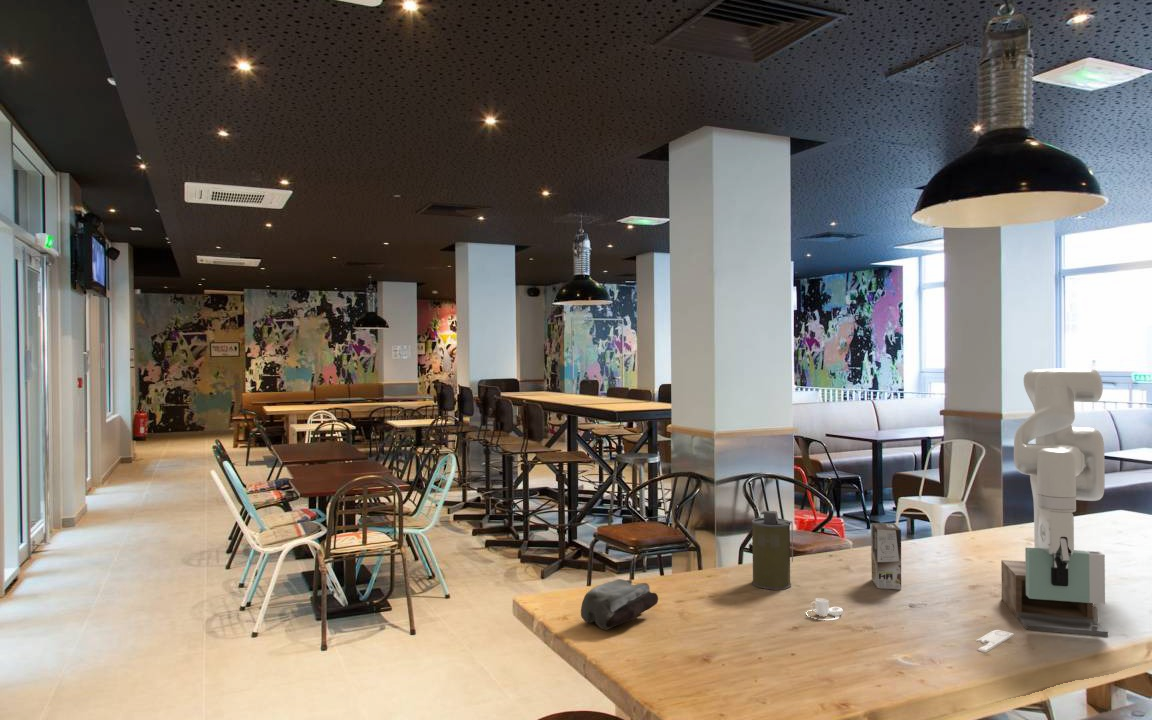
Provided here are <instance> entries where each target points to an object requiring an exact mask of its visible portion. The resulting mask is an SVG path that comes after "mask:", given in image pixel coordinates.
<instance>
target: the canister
mask: <svg viewBox="0 0 1152 720" xmlns="http://www.w3.org/2000/svg"><path fill="white" fill-rule="evenodd" d="M760 515H763V517H759V518H757V517H756V518H753V519H752V520H751V525H752V526H751V527H752V535H751V536H752V581H751V582H752V583H751V584H752V585H753V586H754V585H755V586H754V587H756V586H757V588H758V587H761V588H760V589H762V588H764V590H768V589H771V590H770V591H782V590H781V589H783V590H786V589H788V588H790V587H792V583H791V563H793V562H794V561H793V560H794V547H793V546H794V541H793V540H794V539H793V538H794V537H793V536H794V535H793V532H794V531H793V529H794V528H793V521H792V520H787V519H784V518H779V516H778V515H779V514H778V512H777V511H776V510H763V511H762V512H761V513H760ZM790 526H791V527H790ZM790 530H791V531H790Z"/></svg>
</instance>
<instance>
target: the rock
mask: <svg viewBox="0 0 1152 720" xmlns="http://www.w3.org/2000/svg"><path fill="white" fill-rule="evenodd" d="M632 583H633V581H632V580H631V579H627V580H626V579H622V578H619V579H614V580H612V581H608V582H604V583H603V584H599V585H596V586H594V587H593V588H591V589H590V590H589V591H588V592H587V593H585V595H584V597H583V599H582V603H581V606H580V617H581V619H582V620H583V621H584V622H586V623H593V622H594V623H595V625H597V627H598V628H600V629H602V630H605V631H606V630H609V629H612V628H614V627H616V626H619V625H622V624H624V623H627V622H629V621H632V620H635V618H637V617H638V616H639V615H641V614H642V613H644V612H645V611H648V610H649V609H651V608H653V607H655V606H656V605H657V604H658V601H659V596H658V594H657V593H656V592H651V590H650V585H649V584H648V583H647V582H641V583H637V584H632Z"/></svg>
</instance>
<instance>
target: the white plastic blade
mask: <svg viewBox="0 0 1152 720" xmlns="http://www.w3.org/2000/svg"><path fill="white" fill-rule="evenodd" d="M1013 636H1014V633H1013V632H1008V631H1007V630H1000V629H995V630H991V631H990V632H988V633H986V634H985V635H983V636H981V637H979V638H978V639H975V642H981V644H985V643H986V644H985V645H983V646H981V647H978V648H977V651H979V652H981V653H985V654H987V653H988V652H989V651H991V650H993V649H994V648H996V647H997V646H999V645H1000V644H1003V643H1004V642H1005V641H1007V640H1009V639H1010V638H1012V637H1013Z"/></svg>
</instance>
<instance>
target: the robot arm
mask: <svg viewBox="0 0 1152 720" xmlns="http://www.w3.org/2000/svg"><path fill="white" fill-rule="evenodd" d="M1023 386H1024V390H1025V392H1026V394H1027V397H1028V399H1029V400H1030V403H1031V405H1032V407H1033V410H1034V413H1033V414H1032V415H1030V416H1029V417H1027V418H1026V419H1025V420H1024V421H1023V422H1022V423H1021V424H1020V425H1019V426H1018V428H1017V430H1016V431H1015V435H1014V439H1013V440H1014V441H1013V463H1014V464H1013V465H1014V467H1015V469H1016V470H1017V472H1019V473H1021V474H1023V475H1027V476H1029V479H1030V486H1031V492H1032V493H1031V494H1032V499H1033V500H1032V501H1033V523H1034V524H1033V526H1034V527H1033V528H1034V529H1033V530H1034V531H1033V534H1034V536H1033V537H1034V547H1033V548H1041V549H1043V550H1044V551H1045V552H1046V553H1048V554H1049V555H1053V567H1051V584H1052V585H1054V586H1068V562H1069V556H1071V555H1072V554H1073V551H1074V550H1075V519H1074V518H1075V517H1074V514H1073V513H1075V512H1076V511H1077V501H1085V502H1087V501H1090V502H1094V501H1095V502H1096V501H1100V500H1101V499H1102V498H1103V497H1104V493H1105V486H1106V484H1105V483H1106V482H1105V481H1106V480H1105V479H1106V478H1105V443H1104V438H1103V436H1102V433H1101V432H1100V431H1099V430H1097V429H1096V428H1093V427H1084V426H1083V427H1082V426H1081V427H1077V426H1072V425H1073V423H1074V421H1075V419H1076V418H1075V417H1076V416H1075V415H1076V413H1075V402H1077V403H1080V402H1081V403H1083V402H1084V403H1091V402H1092V403H1096V402H1098V401H1100V399H1101V397H1102V395H1103V388H1104V387H1103V380H1102V377H1101V375H1100V372H1098V370H1096V369H1095V368H1094V369H1093V368H1092V369H1091V368H1041V369H1039V368H1038V369H1032V370H1030V371H1027V372H1026V373H1025V374H1024V377H1023ZM1033 440H1035V443H1031V441H1033ZM1056 552H1060V553H1061V554H1056ZM1057 557H1060V558H1058V559H1057Z"/></svg>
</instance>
